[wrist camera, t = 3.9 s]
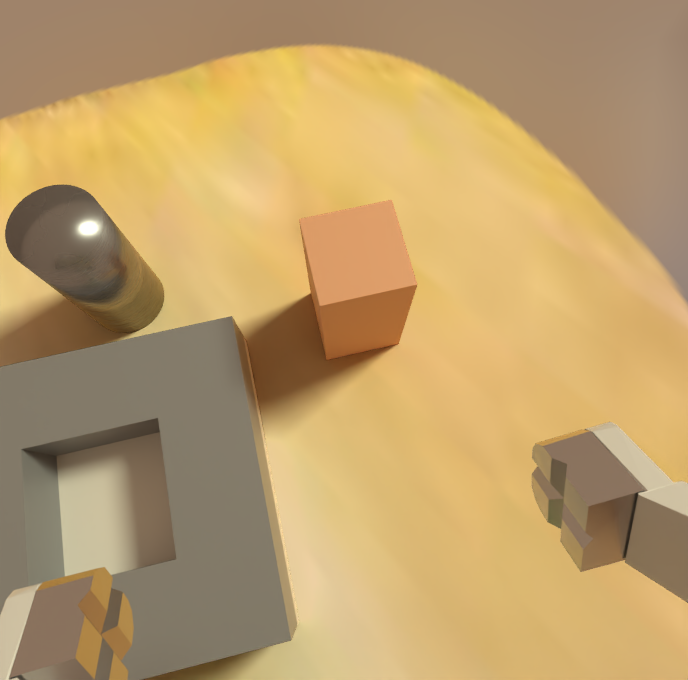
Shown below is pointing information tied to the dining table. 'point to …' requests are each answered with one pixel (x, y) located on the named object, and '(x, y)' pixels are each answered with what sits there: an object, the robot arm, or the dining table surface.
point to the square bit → (358, 277)
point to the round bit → (84, 257)
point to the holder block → (149, 491)
